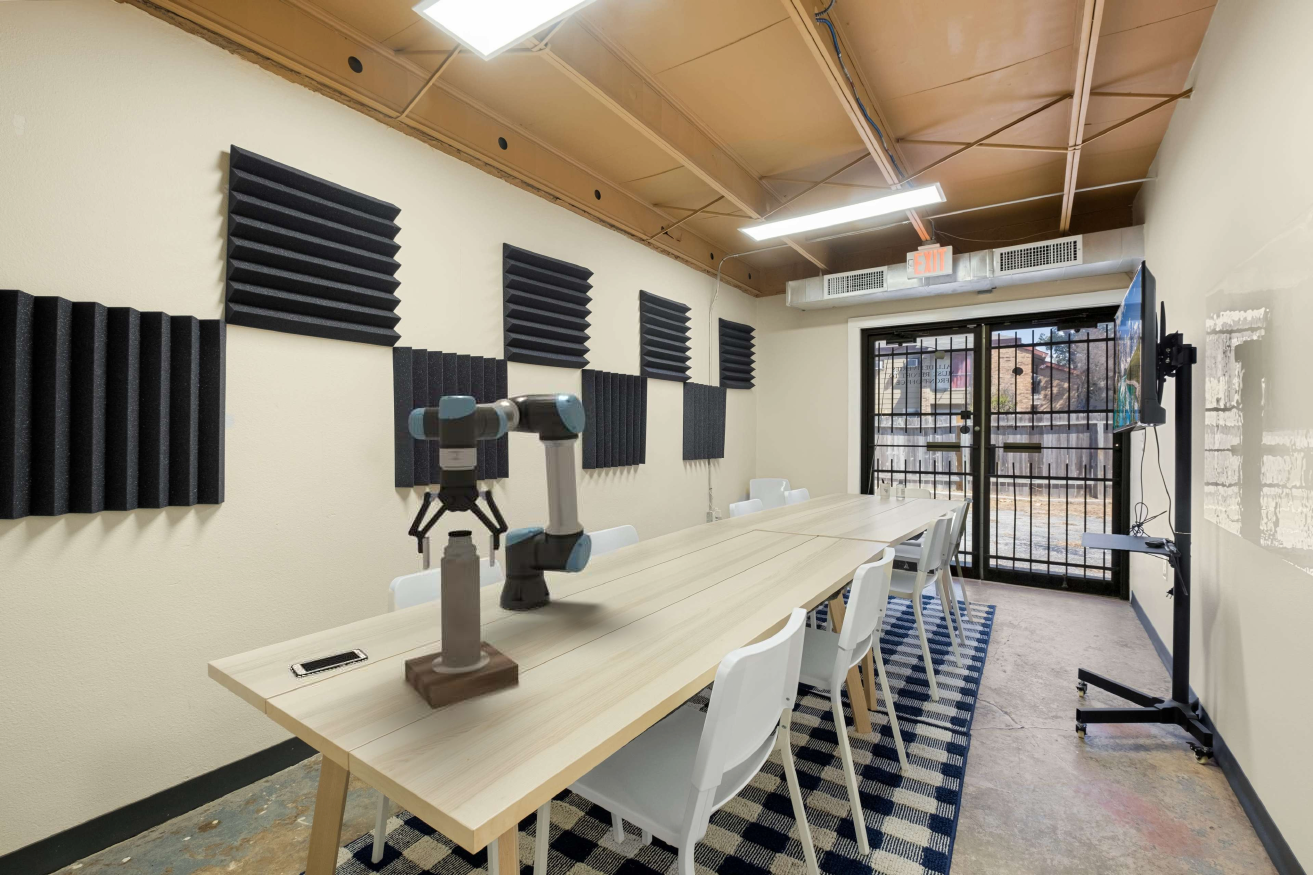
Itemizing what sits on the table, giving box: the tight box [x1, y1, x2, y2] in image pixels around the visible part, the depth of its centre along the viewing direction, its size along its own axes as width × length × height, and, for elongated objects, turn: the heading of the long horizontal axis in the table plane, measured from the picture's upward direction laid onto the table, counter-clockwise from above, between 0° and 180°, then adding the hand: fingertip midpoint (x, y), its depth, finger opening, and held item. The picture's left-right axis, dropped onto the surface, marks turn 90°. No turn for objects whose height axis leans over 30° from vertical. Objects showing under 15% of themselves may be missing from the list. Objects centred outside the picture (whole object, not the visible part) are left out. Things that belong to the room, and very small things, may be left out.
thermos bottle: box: [440, 529, 482, 668], centre depth 125 cm, size 8×8×28 cm
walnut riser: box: [404, 640, 519, 710], centre depth 125 cm, size 18×18×4 cm
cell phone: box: [290, 648, 369, 677], centre depth 135 cm, size 8×15×1 cm, turn 134°
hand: (459, 566), depth 125 cm, fingers open, 13 cm apart
